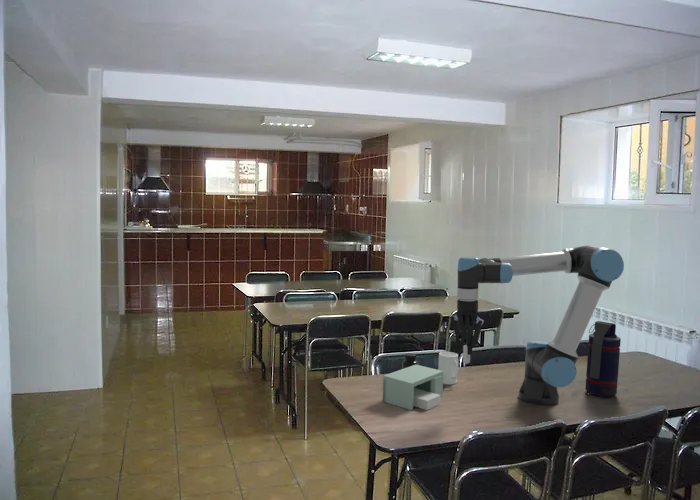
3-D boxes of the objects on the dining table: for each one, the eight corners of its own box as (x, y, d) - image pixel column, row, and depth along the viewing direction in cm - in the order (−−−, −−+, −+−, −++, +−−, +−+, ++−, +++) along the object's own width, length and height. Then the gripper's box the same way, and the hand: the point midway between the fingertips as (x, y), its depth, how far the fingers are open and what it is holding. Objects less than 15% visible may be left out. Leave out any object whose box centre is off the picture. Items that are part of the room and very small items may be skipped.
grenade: (592, 387, 249) (597, 318, 246) (621, 394, 240) (626, 323, 238) (578, 394, 239) (583, 322, 237) (607, 402, 231) (613, 327, 228)
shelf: (443, 396, 231) (444, 371, 230) (411, 410, 214) (413, 383, 213) (414, 388, 240) (415, 364, 239) (382, 401, 223) (383, 375, 222)
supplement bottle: (419, 381, 249) (421, 353, 248) (414, 385, 243) (416, 357, 242) (404, 379, 252) (405, 351, 251) (399, 383, 246) (400, 355, 245)
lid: (440, 404, 222) (440, 395, 222) (427, 410, 215) (427, 400, 215) (409, 395, 231) (409, 386, 231) (396, 400, 224) (396, 391, 224)
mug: (464, 386, 245) (466, 358, 244) (446, 387, 242) (447, 359, 241) (451, 377, 256) (452, 351, 255) (433, 379, 253) (434, 352, 252)
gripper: (488, 299, 212) (487, 363, 215) (456, 296, 221) (455, 357, 223) (479, 302, 207) (477, 368, 209) (446, 298, 215) (445, 361, 217)
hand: (466, 362), depth 216 cm, fingers closed
